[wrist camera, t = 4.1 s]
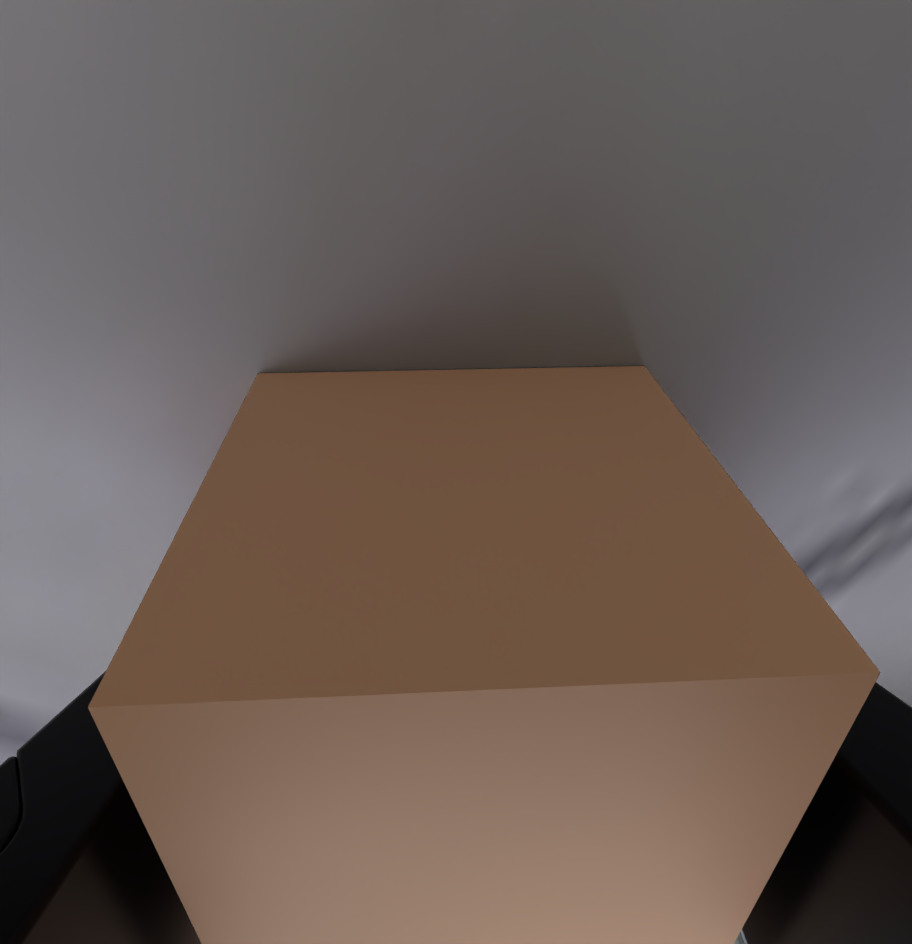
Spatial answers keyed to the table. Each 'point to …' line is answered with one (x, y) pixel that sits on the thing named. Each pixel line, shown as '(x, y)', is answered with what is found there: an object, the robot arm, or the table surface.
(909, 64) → the table surface
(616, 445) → the terracotta cube
